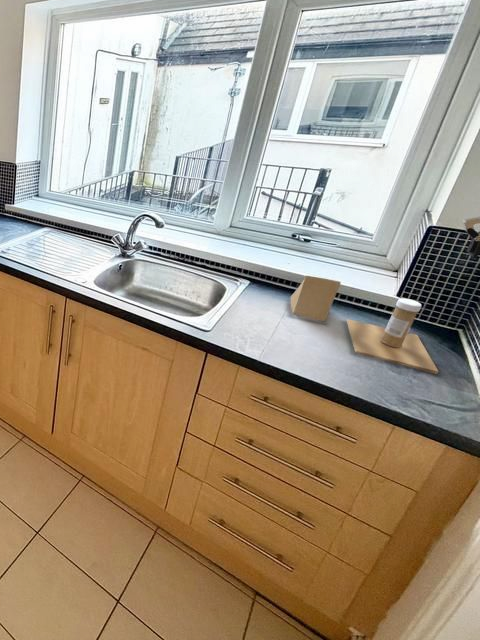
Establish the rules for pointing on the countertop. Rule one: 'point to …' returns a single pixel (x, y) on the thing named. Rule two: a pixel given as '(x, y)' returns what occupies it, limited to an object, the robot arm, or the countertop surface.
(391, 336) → the sprinkles bottle
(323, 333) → the countertop surface
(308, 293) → the sandwich container
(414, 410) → the countertop surface
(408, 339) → the chopping board
